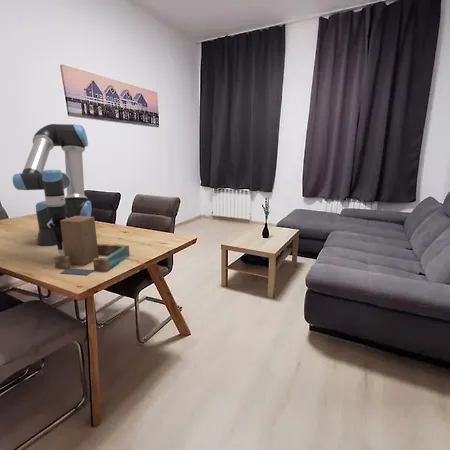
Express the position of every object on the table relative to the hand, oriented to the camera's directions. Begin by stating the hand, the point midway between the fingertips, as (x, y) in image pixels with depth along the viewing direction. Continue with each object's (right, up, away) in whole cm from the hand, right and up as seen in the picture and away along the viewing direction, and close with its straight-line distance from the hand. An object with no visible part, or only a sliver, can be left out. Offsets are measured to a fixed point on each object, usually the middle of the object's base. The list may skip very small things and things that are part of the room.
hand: (63, 255), depth 133 cm
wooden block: (+9, -3, -1) cm, 10 cm away
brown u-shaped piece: (+14, -2, -1) cm, 15 cm away
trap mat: (+14, -6, -13) cm, 20 cm away
